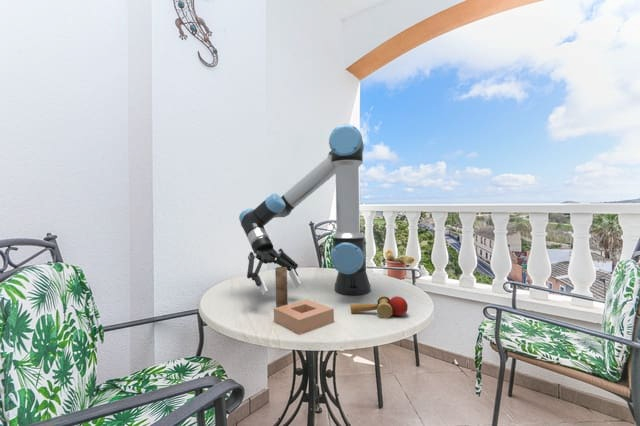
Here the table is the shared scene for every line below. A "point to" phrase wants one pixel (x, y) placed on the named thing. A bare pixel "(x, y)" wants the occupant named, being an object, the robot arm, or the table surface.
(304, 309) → the socket block
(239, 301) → the table surface
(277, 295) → the peg
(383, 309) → the kendama
